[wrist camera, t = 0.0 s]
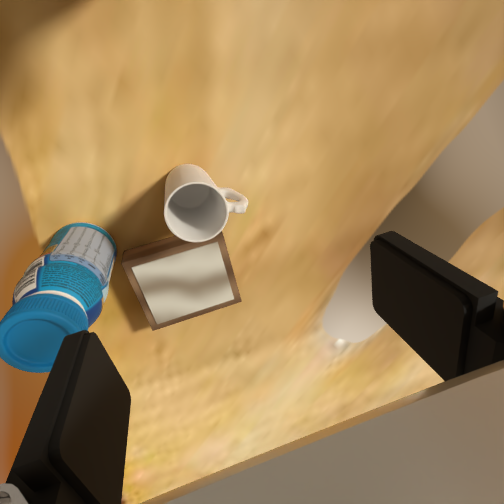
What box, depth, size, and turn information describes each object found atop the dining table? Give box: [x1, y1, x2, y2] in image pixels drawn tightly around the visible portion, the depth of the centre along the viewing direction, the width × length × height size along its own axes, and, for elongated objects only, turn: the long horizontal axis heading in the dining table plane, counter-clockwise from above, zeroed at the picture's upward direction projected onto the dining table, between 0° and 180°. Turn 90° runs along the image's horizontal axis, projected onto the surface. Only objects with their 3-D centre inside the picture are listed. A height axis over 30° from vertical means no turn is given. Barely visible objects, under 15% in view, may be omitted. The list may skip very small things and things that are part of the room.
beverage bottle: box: [0, 222, 117, 373], centre depth 36 cm, size 8×8×20 cm
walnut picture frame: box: [121, 231, 242, 331], centre depth 48 cm, size 12×14×4 cm
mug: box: [164, 164, 248, 242], centre depth 40 cm, size 10×7×12 cm, turn 86°
